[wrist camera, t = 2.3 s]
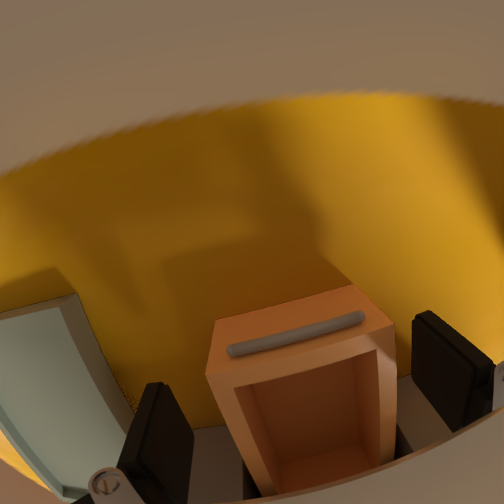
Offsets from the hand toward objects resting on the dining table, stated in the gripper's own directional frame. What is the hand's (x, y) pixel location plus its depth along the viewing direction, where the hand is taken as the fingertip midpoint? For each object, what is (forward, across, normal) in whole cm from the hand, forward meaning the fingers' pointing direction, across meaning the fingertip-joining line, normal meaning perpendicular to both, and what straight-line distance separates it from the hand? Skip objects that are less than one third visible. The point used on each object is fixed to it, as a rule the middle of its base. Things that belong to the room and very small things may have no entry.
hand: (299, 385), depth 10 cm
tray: (+5, +16, +5) cm, 18 cm away
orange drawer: (+5, 0, +5) cm, 7 cm away
